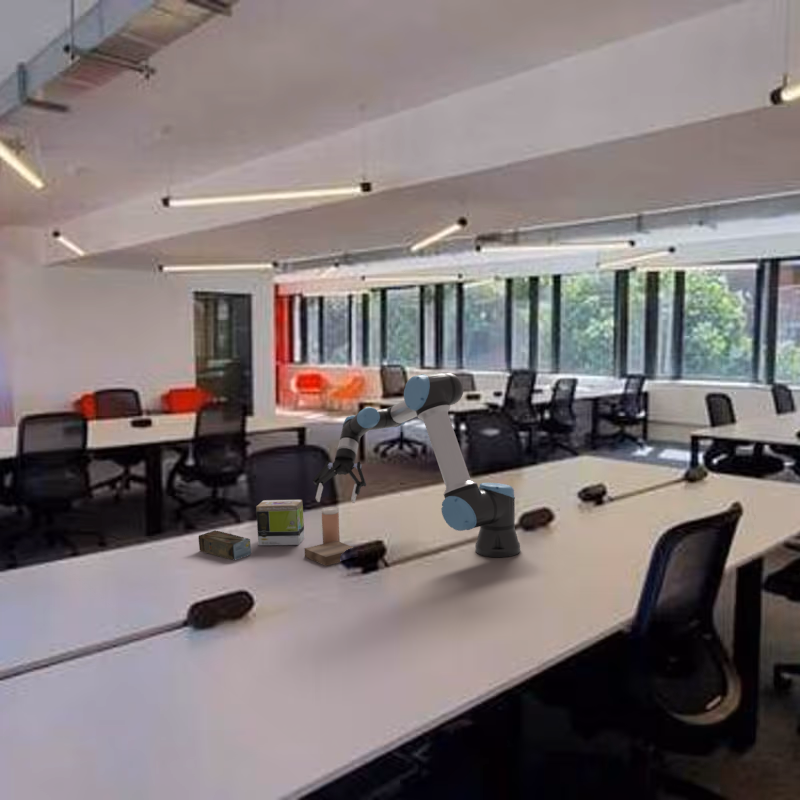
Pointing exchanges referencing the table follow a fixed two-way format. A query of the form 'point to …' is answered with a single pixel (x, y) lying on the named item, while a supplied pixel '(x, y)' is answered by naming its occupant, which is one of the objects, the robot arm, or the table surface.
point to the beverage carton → (224, 545)
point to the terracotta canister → (330, 524)
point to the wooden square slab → (326, 552)
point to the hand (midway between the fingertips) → (335, 500)
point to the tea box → (280, 522)
